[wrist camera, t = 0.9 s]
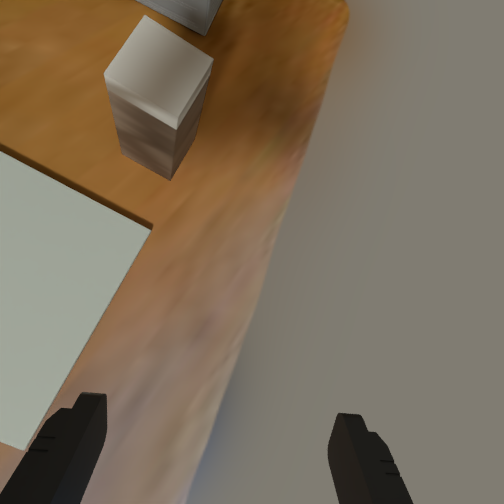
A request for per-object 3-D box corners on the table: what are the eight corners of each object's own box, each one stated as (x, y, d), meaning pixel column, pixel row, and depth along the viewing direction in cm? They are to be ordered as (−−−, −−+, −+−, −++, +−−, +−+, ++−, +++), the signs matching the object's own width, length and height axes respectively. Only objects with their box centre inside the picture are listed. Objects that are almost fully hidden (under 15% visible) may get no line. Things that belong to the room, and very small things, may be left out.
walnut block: (122, 154, 29) (103, 73, 19) (148, 112, 31) (144, 14, 20) (170, 180, 30) (177, 117, 20) (194, 139, 31) (213, 59, 21)
